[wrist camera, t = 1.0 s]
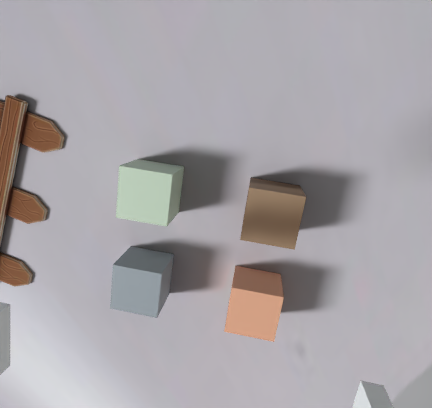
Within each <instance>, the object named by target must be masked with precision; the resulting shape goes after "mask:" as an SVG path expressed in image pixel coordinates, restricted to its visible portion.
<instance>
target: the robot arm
mask: <svg viewBox="0 0 432 408" xmlns="http://www.w3.org/2000/svg"><path fill="white" fill-rule="evenodd" d="M9 366H10V304H6V303H1V302H0V375H1V374H2V373H3V372H4V371H5V370H6V369H7V368H8V367H9ZM352 408H394V407H393V405H392V403H391V401H390V399H389V396H388V394H387V392H386V390H385V388H384V386H383V385H379V384H374V383H370V382H365V381H360V385H359V388H358V391H357V394H356V398H355V401H354V404H353V407H352Z"/></svg>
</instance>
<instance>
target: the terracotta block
mask: <svg viewBox="0 0 432 408" xmlns="http://www.w3.org/2000/svg"><path fill="white" fill-rule="evenodd" d="M283 299H284V295H283V288H282V280H281V274H278V273H273V272H267V271H262V270H256V269H251V268H246V267H240V266H235V272H234V277H233V283H232V289H231V295H230V300H229V306H228V312H227V319H226V325H225V331H224V332H229V333H234V334H239V335H244V336H249V337H254V338H258V339H263V340H268V341H273V342H274V339H275V335H276V330H277V326H278V321H279V317H280V312H281V308H282V303H283Z"/></svg>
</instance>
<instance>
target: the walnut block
mask: <svg viewBox="0 0 432 408" xmlns="http://www.w3.org/2000/svg"><path fill="white" fill-rule="evenodd" d="M305 200H306V196H305V194H304V192H303V190H302V189H301V187H300V185H293V184H287V183H281V182H275V181H269V180H263V179H257V178H251V179H250V185H249V191H248V196H247V202H246V208H245V214H244V220H243V226H242V232H241V239H240V240H244V241H250V242H256V243H261V244H267V245H272V246H278V247H283V248H289V249H295V245H296V241H297V236H298V232H299V227H300V223H301V218H302V214H303V209H304V205H305Z"/></svg>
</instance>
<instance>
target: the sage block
mask: <svg viewBox="0 0 432 408" xmlns="http://www.w3.org/2000/svg"><path fill="white" fill-rule="evenodd" d="M183 173H184V167H183V166H177V165H171V164H165V163H159V162H153V161H147V160H140V159H137V160H134V161H131V162H129V163H126V164H123V165H120V166H119V178H118V193H117V209H116V218H122V219H128V220H133V221H139V222H144V223H150V224H155V225H161V226H168V225H169V223H170V222H171V221H172V220H173V219H174V217H175V216H176V215H177V214H178V213H179V207H180V198H181V190H182V181H183Z"/></svg>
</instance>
